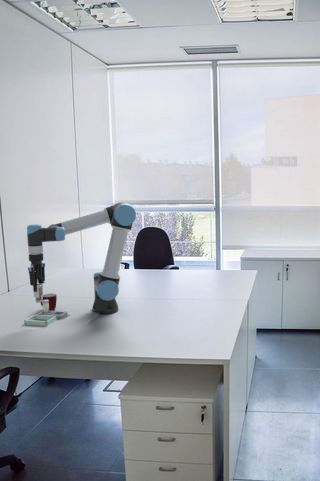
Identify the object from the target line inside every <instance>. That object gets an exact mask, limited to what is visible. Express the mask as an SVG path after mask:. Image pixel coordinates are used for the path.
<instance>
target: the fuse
mask: <svg viewBox="0 0 320 481" xmlns="http://www.w3.org/2000/svg"><path fill="white" fill-rule="evenodd" d="M48 302H49V300H42V303H43V306H42V311H43V314H49V303H48Z"/></svg>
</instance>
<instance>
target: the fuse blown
mask: <svg viewBox="0 0 320 481" xmlns="http://www.w3.org/2000/svg"><path fill="white" fill-rule="evenodd" d="M38 286H39V298H36V297H35V303H36V304H37V303H40V304H41V302H42V299H43V297H42V294H41V285H38Z"/></svg>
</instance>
